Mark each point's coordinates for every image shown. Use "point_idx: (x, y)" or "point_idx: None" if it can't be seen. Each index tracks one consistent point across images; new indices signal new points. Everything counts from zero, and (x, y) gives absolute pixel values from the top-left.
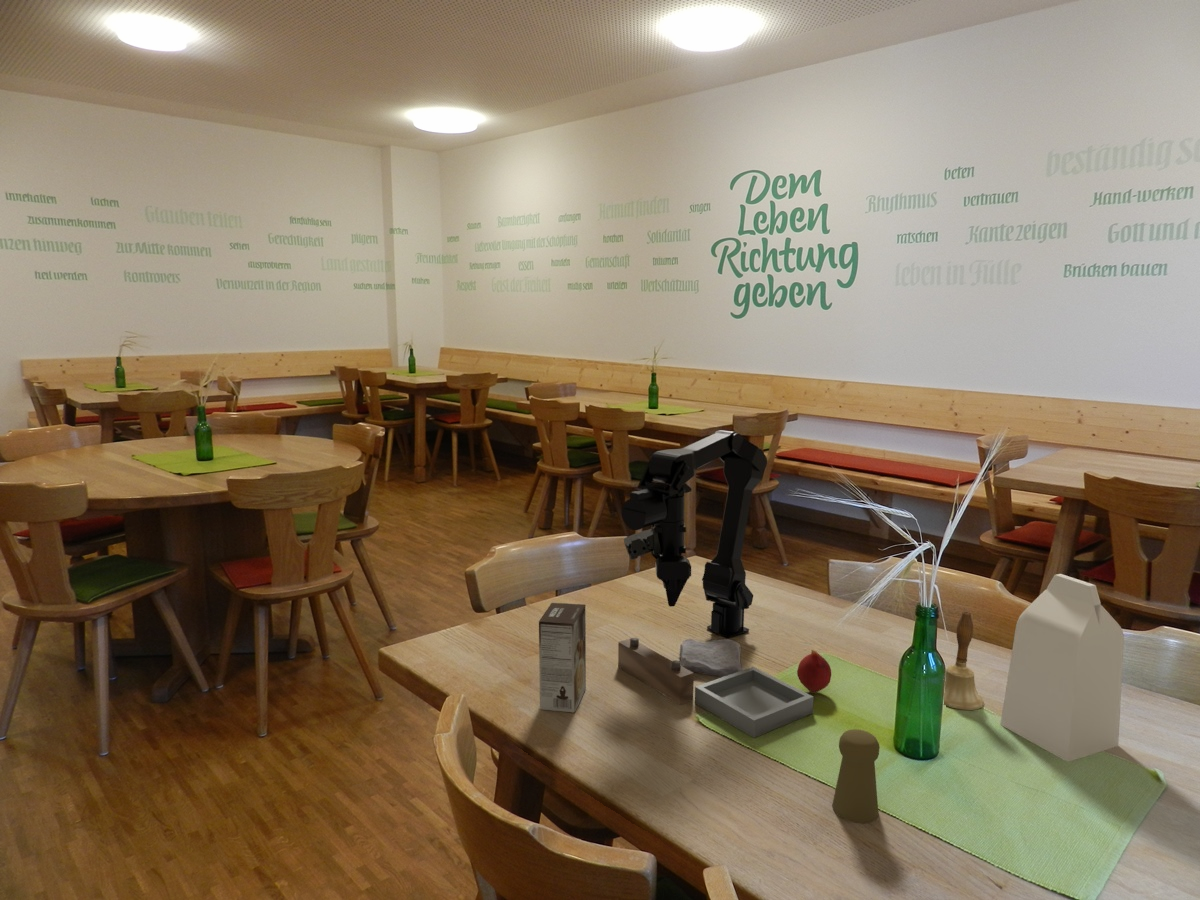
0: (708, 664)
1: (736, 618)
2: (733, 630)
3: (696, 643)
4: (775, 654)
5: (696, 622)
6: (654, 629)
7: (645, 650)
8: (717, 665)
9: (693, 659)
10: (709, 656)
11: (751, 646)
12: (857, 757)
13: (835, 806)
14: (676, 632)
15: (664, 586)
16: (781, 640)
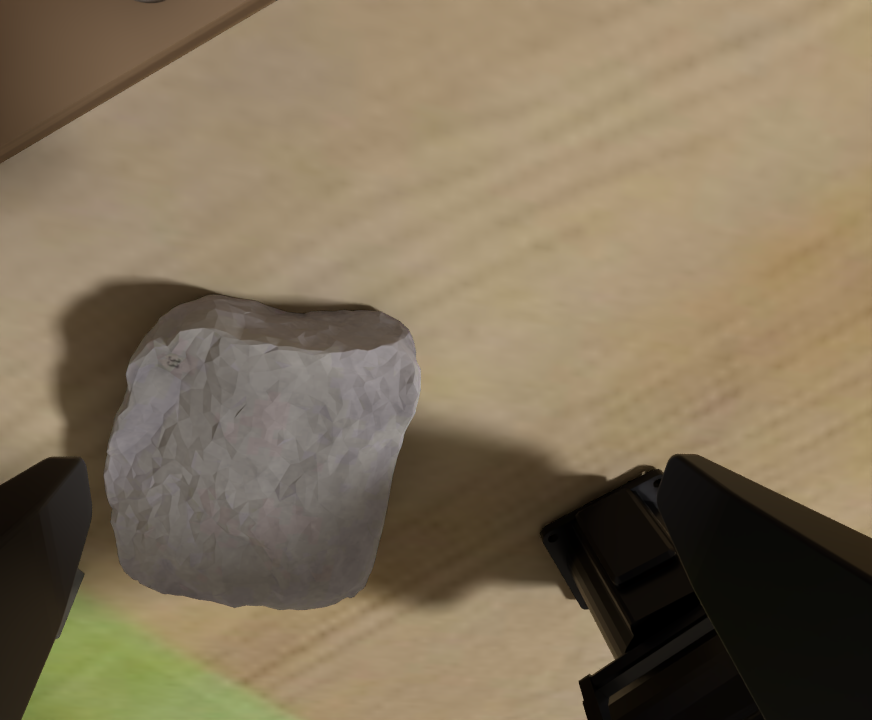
0: (144, 445)
1: (595, 621)
2: (572, 568)
3: (351, 430)
4: (364, 659)
5: (737, 434)
6: (738, 231)
7: (27, 48)
8: (131, 484)
9: (176, 382)
10: (197, 468)
11: (449, 597)
12: None
13: None
14: (666, 335)
15: (685, 468)
16: (484, 681)
